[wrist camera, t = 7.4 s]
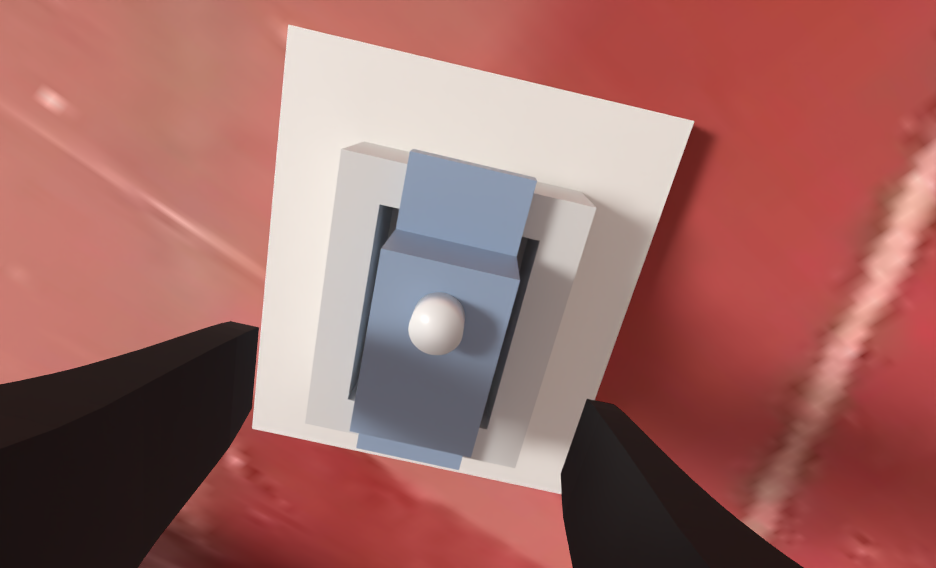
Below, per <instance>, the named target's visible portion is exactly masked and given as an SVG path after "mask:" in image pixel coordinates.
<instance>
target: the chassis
mask: <svg viewBox="0 0 936 568" xmlns="http://www.w3.org/2000/svg"><path fill="white" fill-rule="evenodd" d="M693 124H694V121H692V120H687V119H683V118H679V117H675V116H670V115H666V114H662V113H658V112H654V111H649V110H645V109H641V108H637V107H633V106H628V105H624V104H620V103H616V102H612V101H607V100H603V99H599V98H595V97H591V96H586V95H582V94H578V93H574V92H570V91H565V90H561V89H557V88H553V87H549V86H544V85H540V84H536V83H532V82H528V81H523V80H519V79H515V78H511V77H506V76H502V75H498V74H494V73H490V72H485V71H481V70H477V69H473V68H469V67H464V66H460V65H456V64H452V63H448V62H443V61H439V60H435V59H431V58H427V57H422V56H418V55H414V54H410V53H406V52H401V51H397V50H393V49H389V48H385V47H380V46H376V45H372V44H368V43H364V42H359V41H355V40H351V39H347V38H342V37H338V36H334V35H330V34H326V33H321V32H317V31H313V30H309V29H305V28H300V27H296V26H292V25H288V33H287V45H286V56H285V67H284V78H283V89H282V101H281V112H280V123H279V134H278V145H277V157H276V168H275V179H274V190H273V201H272V213H271V224H270V235H269V246H268V257H267V269H266V280H265V291H264V302H263V313H262V325H261V336H260V347H259V358H258V369H257V381H256V392H255V403H254V414H253V425H252V429H257V430H262V431H266V432H271V433H276V434H280V435H285V436H290V437H295V438H299V439H304V440H309V441H313V442H318V443H323V444H327V445H332V446H337V447H342V448H346V449H351V450H356V451H360V452H365V453H370V454H375V455H379V456H384V457H389V458H393V459H398V460H403V461H408V462H412V463H417V464H422V465H426V466H431V467H436V468H441V469H445V470H450V471H455V472H459V473H464V474H469V475H473V476H478V477H483V478H488V479H492V480H497V481H502V482H506V483H511V484H516V485H521V486H525V487H530V488H535V489H539V490H544V491H549V492H554V493H558V494H561V493H562V492H561V471H562V468H563V465H564V463H565V460H566V457H567V454H568V451H569V448H570V445H571V443H572V440H573V437H574V434H575V431H576V428H577V425H578V423H579V420H580V417H581V414H582V411H583V408H584V405H585V403H586V400H587V399H591V400H595V398H596V395H597V392H598V389H599V386H600V384H601V381H602V378H603V375H604V372H605V370H606V367H607V364H608V361H609V358H610V356H611V353H612V350H613V347H614V345H615V342H616V339H617V336H618V333H619V331H620V328H621V325H622V322H623V319H624V317H625V314H626V311H627V308H628V305H629V303H630V300H631V297H632V294H633V291H634V289H635V286H636V283H637V280H638V277H639V275H640V272H641V269H642V266H643V263H644V261H645V258H646V255H647V252H648V250H649V247H650V244H651V241H652V238H653V236H654V233H655V230H656V227H657V224H658V222H659V219H660V216H661V213H662V210H663V208H664V205H665V202H666V199H667V196H668V194H669V191H670V188H671V185H672V182H673V180H674V177H675V174H676V171H677V168H678V166H679V163H680V160H681V157H682V155H683V152H684V149H685V146H686V143H687V141H688V138H689V135H690V132H691V129H692V127H693ZM412 149H417V150H421V151H425V152H429V153H434V154H438V155H442V156H446V157H451V158H455V159H459V160H463V161H467V162H472V163H476V164H480V165H484V166H489V167H493V168H497V169H501V170H506V171H510V172H514V173H518V174H523V175H527V176H531V177H535V178H536V180H537V183H536V187H535V190H534V194H533V198H532V201H531V205H530V209H529V212H528V216H527V220H526V224H525V227H524V231H523V235H522V238H521V242H520V246H519V250H518V253H517V263H518V270H519V276H520V283H519V286H518V290H517V293H516V297H515V301H514V304H513V308H512V311H511V315H510V319H509V322H508V326H507V329H506V333H505V337H504V340H503V344H502V347H501V351H500V355H499V358H498V362H497V366H496V369H495V373H494V376H493V380H492V384H491V387H490V391H489V394H488V398H487V402H486V405H485V409H484V412H483V416H482V420H481V423H480V427H479V430H478V434H477V438H476V441H475V445H474V448H473V452H472V456H471V458H470V457H466V456H463V457H462V461H461V464H460V468H459V470H456V469H451V468H446V467H442V466H437V465H432V464H428V463H423V462H419V461H414V460H409V459H405V458H400V457H395V456H391V455H386V454H381V453H377V452H372V451H368V450H363V449H358V448H356V446H357V441H358V435H359V433H355V432H350V425H351V419H352V414H353V408H354V402H355V396H356V391H357V385H358V379H359V373H360V367H361V362H362V356H363V350H364V344H365V338H366V333H367V327H368V321H369V315H370V310H371V304H372V298H373V292H374V286H375V281H376V275H377V269H378V263H379V257H380V252H381V248H382V247H383V245H384V244H385V243H386V241H387V240H388V239H389V237H390V236H391V235H392V233H393V232H394V231H395V229H396V225H397V219H398V214H399V208H400V203H401V197H402V192H403V186H404V181H405V175H406V170H407V164H408V159H409V153H410V151H411V150H412Z"/></svg>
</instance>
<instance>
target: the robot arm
mask: <svg viewBox="0 0 936 568" xmlns="http://www.w3.org/2000/svg"><path fill="white" fill-rule="evenodd" d="M258 331H259V327H254V326H250V325H245V324H240V323H236V322H231V321H230V322H225V323H221V324H217V325H214V326H211V327H207V328H204V329H201V330H198V331H195V332H192V333H189V334H186V335H183V336H180V337H177V338H174V339H171V340H168V341H165V342H162V343H159V344H156V345H153V346H150V347H147V348H143V349H140V350H137V351H134V352H130V353H127V354H123V355H120V356H116V357H113V358H110V359H106V360H103V361H99V362H96V363H92V364H89V365H86V366H82V367H78V368H74V369H70V370H66V371H62V372H58V373H53V374H49V375H44V376H40V377H35V378H30V379H26V380H21V381H16V382H11V383H6V384H0V568H138V566H139V565H140V563H141V562H142V560H143V559H144V557H145V556H146V555H147V553H148V552H149V550H150V549H151V548H152V546H153V545H154V544H155V542H156V541H157V539H158V538H159V537H160V535H161V534H162V533H163V532H164V530H165V529H166V528H167V526H168V525H169V524H170V523H171V521H172V520H173V519H174V518H175V516H176V515H177V514H178V512H179V511H180V510H181V509H182V507H183V506H184V505H185V504H186V502H187V501H188V500H189V498H190V497H191V496H192V495H193V493H194V492H195V491H196V490H197V488H198V487H199V486H200V484H201V483H202V482H203V481H204V479H205V478H206V477H207V476H208V474H209V473H210V472H211V470H212V469H213V468H214V466H215V465H216V464H217V463H218V461H219V460H220V459H221V457H222V456H223V455H224V453H225V452H226V451H227V449H228V448H229V447H230V445H231V443H232V442H233V440H234V438H235V437H236V435H237V433H238V432H239V430H240V428H241V426H242V425H243V423H244V421H245V419H246V418H247V416H248V414H249V412H250V410H251V409H252V399H253V388H254V376H255V365H256V354H257V343H258ZM561 492H562V508H563V519H564V524H565V530H566V535H567V540H568V545H569V550H570V556H571V561H572V566H573V568H803V567H802V566H800V565H799V564H798V563H796V562H795V561H793V560H792V559H790V558H789V557H787V556H786V555H785V554H783V553H782V552H780V551H779V550H778V549H776V548H775V547H773V546H772V545H771V544H769V543H768V542H767V541H765V540H764V539H763V538H762V537H760V536H759V535H758V534H756V533H755V532H754V531H753V530H751V529H750V528H749V527H747V526H746V525H745V524H744V523H742V522H741V521H740V520H738V519H737V518H736V517H735V516H733V515H732V514H731V513H730V512H729V511H727V510H726V509H725V508H724V507H723V506H721V505H720V504H719V503H718V502H717V501H716V500H715V499H713V498H712V497H711V496H710V495H709V494H708V493H707V492H706V491H704V490H703V489H702V488H701V487H700V486H699V485H698V484H697V483H695V482H694V481H693V480H692V479H691V478H690V477H689V476H688V475H687V474H686V473H685V472H684V471H683V470H682V469H680V468H679V467H678V466H677V465H676V464H675V463H674V462H673V461H672V460H671V459H670V458H669V457H668V456H667V455H666V454H665V453H664V452H663V451H662V450H661V449H660V448H659V447H658V446H657V445H656V444H655V443H654V442H653V441H652V440H651V439H650V438H649V437H648V436H647V435H646V434H645V433H644V432H643V431H642V430H641V429H640V428H639V427H638V426H637V425H636V424H635V423H634V422H633V421H632V420H631V419H630V418H629V417H628V416H627V415H626V414H625V413H624V412H622V411H621V410H620V409H619V408H618V407H617V406H615V405H614V404H609V403H605V402H600V401H595V400H591V399H587V400H586V403H585V405H584V408H583V411H582V414H581V417H580V420H579V423H578V425H577V428H576V431H575V434H574V437H573V440H572V443H571V445H570V448H569V451H568V454H567V457H566V460H565V463H564V465H563V468H562V471H561Z"/></svg>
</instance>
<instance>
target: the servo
mask: <svg viewBox="0 0 936 568" xmlns="http://www.w3.org/2000/svg"><path fill="white" fill-rule="evenodd" d="M536 183H537V180H536V178H535V177H531V176H527V175H523V174H518V173H514V172H510V171H506V170H501V169H497V168H493V167H489V166H484V165H480V164H476V163H472V162H467V161H463V160H459V159H455V158H451V157H446V156H442V155H438V154H434V153H429V152H425V151H421V150H417V149H412V150H411V151H410V153H409V159H408V164H407V170H406V175H405V181H404V186H403V192H402V197H401V203H400V208H399V214H398V219H397V225H396V229H395V231H394V232H393V233H392V235H391V236H390V237H389V239H388V240H387V241H386V243H385V244H384V245H383V247H382V248H381V252H380V257H379V263H378V269H377V275H376V281H375V286H374V292H373V298H372V304H371V310H370V315H369V321H368V327H367V333H366V338H365V344H364V350H363V356H362V362H361V367H360V373H359V379H358V385H357V391H356V396H355V402H354V408H353V414H352V419H351V425H350V432H355V433H359V435H358V441H357V446H356V448H358V449H363V450H368V451H372V452H377V453H381V454H386V455H391V456H395V457H400V458H405V459H409V460H414V461H419V462H423V463H428V464H432V465H437V466H442V467H446V468H451V469H456V470H459V468H460V464H461V461H462V457H463V456H466V457H470V458H471V456H472V452H473V448H474V445H475V441H476V438H477V434H478V430H479V427H480V423H481V420H482V416H483V412H484V409H485V405H486V402H487V398H488V394H489V391H490V387H491V384H492V380H493V376H494V373H495V369H496V366H497V362H498V358H499V355H500V351H501V347H502V344H503V340H504V337H505V333H506V329H507V326H508V322H509V319H510V315H511V311H512V308H513V304H514V301H515V297H516V293H517V290H518V286H519V283H520V276H519V270H518V263H517V253H518V250H519V246H520V242H521V238H522V235H523V231H524V227H525V224H526V220H527V216H528V212H529V209H530V205H531V201H532V198H533V194H534V190H535V187H536Z"/></svg>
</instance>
